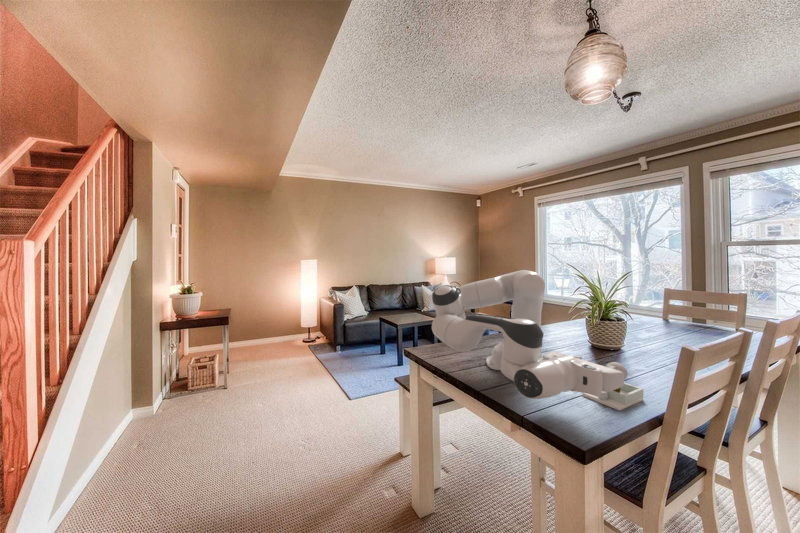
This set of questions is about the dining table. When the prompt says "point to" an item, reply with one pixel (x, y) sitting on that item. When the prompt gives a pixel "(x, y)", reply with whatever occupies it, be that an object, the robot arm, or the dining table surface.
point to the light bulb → (620, 368)
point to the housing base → (619, 397)
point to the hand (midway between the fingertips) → (595, 363)
